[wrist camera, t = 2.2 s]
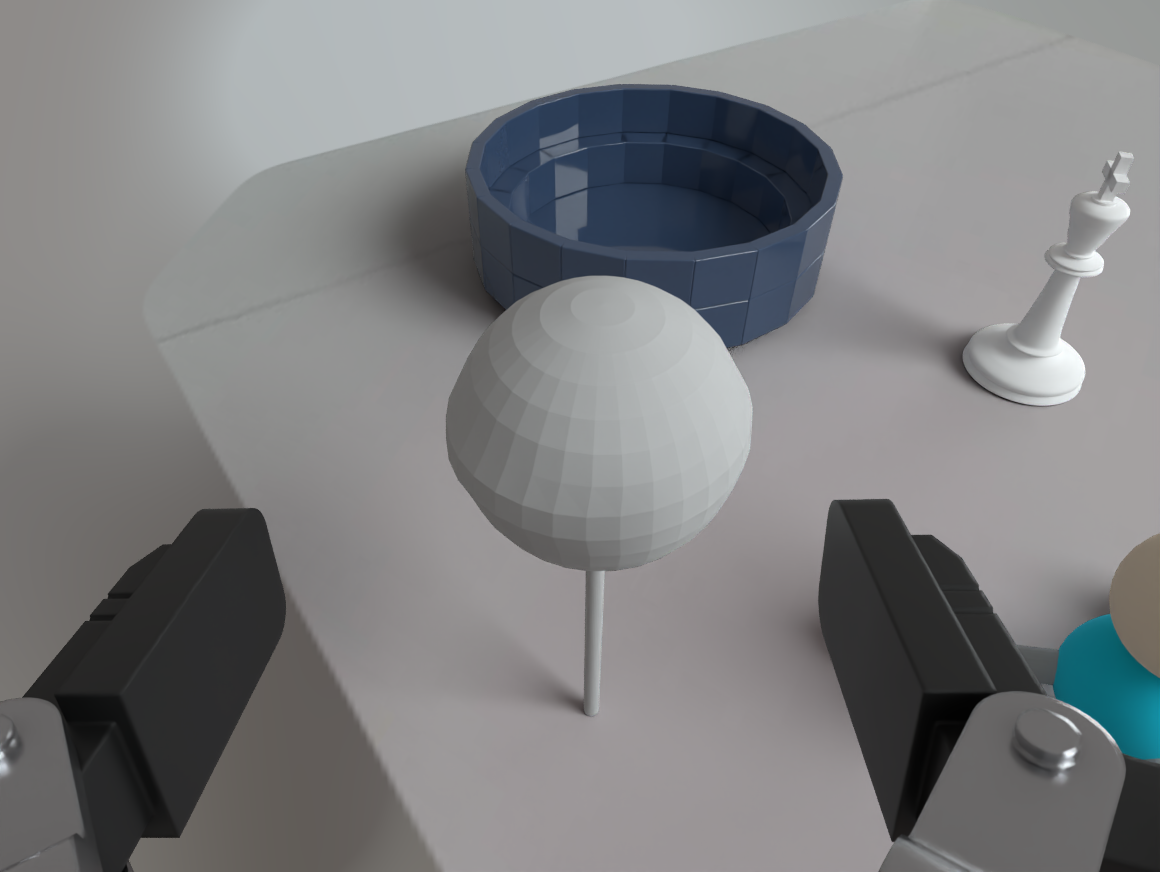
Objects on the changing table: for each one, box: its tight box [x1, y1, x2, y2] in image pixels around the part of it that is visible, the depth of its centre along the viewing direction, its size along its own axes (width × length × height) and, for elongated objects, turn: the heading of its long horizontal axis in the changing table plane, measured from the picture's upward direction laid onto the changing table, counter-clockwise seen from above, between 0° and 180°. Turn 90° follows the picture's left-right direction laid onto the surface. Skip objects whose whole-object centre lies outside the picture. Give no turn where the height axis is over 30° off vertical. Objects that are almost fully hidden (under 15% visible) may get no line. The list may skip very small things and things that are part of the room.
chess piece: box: [963, 152, 1134, 406], centre depth 33 cm, size 5×5×10 cm
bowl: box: [465, 84, 843, 348], centre depth 41 cm, size 17×17×6 cm
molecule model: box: [1016, 534, 1160, 764], centre depth 21 cm, size 12×12×9 cm
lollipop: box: [446, 276, 753, 716], centre depth 20 cm, size 6×6×15 cm
